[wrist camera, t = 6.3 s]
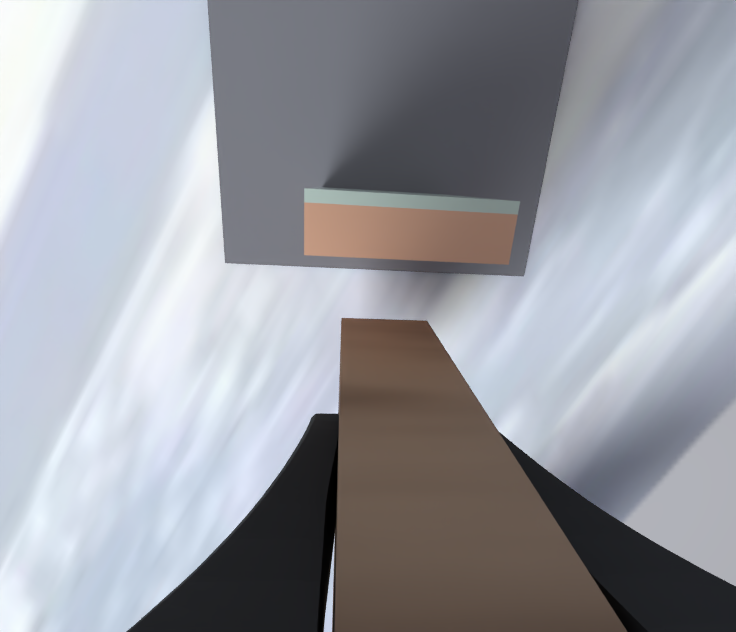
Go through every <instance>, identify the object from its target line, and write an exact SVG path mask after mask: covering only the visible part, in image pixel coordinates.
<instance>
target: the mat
mask: <svg viewBox="0 0 736 632" xmlns="http://www.w3.org/2000/svg"><path fill="white" fill-rule="evenodd" d="M577 4H578V0H208V15H209V30H210V45H211V60H212V74H213V89H214V104H215V119H216V134H217V149H218V163H219V178H220V193H221V208H222V223H223V238H224V252H225V263H236V264H258V265H281V266H303V267H326V268H348V269H371V270H393V271H416V272H438V273H461V274H483V275H506V276H524V273H525V268H526V263H527V258H528V253H529V248H530V243H531V238H532V233H533V227H534V222H535V217H536V212H537V207H538V202H539V197H540V192H541V187H542V182H543V177H544V172H545V167H546V161H547V156H548V151H549V146H550V141H551V136H552V131H553V126H554V121H555V116H556V111H557V106H558V101H559V96H560V90H561V85H562V80H563V75H564V70H565V65H566V60H567V55H568V50H569V45H570V40H571V35H572V30H573V24H574V19H575V14H576V9H577ZM317 187H328V188H344V189H361V190H378V191H394V192H411V193H427V194H444V195H456V196H467V197H478V198H489V199H500V200H512V201H520V205H519V211H518V216H517V222H516V227H515V233H514V238H513V244H512V249H511V255H510V260H509V265H504V264H482V263H461V262H439V261H418V260H397V259H375V258H354V257H332V256H311V255H304V188H317Z"/></svg>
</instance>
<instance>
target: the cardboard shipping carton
mask: <svg viewBox="0 0 736 632" xmlns="http://www.w3.org/2000/svg"><path fill="white" fill-rule="evenodd" d="M338 414H339V437H338V465H337V494H336V523H335V547H334V582H333V618H332V632H627V630H626V629H625V627H624V626H623V624H622V623H621V621H620V619H619V618H618V616H617V615H616V613H615V612H614V610H613V609H612V607H611V606H610V604H609V602H608V601H607V599H606V598H605V596H604V595H603V593H602V592H601V590H600V588H599V587H598V585H597V584H596V582H595V581H594V579H593V578H592V576H591V574H590V573H589V571H588V570H587V568H586V567H585V565H584V564H583V562H582V561H581V559H580V557H579V556H578V554H577V553H576V551H575V550H574V548H573V547H572V545H571V543H570V542H569V540H568V539H567V537H566V536H565V534H564V533H563V531H562V530H561V528H560V526H559V525H558V523H557V522H556V520H555V519H554V517H553V516H552V514H551V512H550V511H549V509H548V508H547V506H546V505H545V503H544V502H543V500H542V499H541V497H540V495H539V494H538V492H537V491H536V489H535V488H534V486H533V485H532V483H531V481H530V480H529V478H528V477H527V475H526V474H525V472H524V471H523V469H522V468H521V466H520V464H519V463H518V461H517V460H516V458H515V457H514V455H513V454H512V452H511V450H510V449H509V447H508V446H507V444H506V443H505V441H504V440H503V438H502V437H501V435H500V433H499V432H498V430H497V429H496V427H495V426H494V424H493V423H492V421H491V419H490V418H489V416H488V415H487V413H486V412H485V410H484V409H483V407H482V405H481V404H480V402H479V401H478V399H477V398H476V396H475V395H474V393H473V392H472V390H471V388H470V387H469V385H468V384H467V382H466V381H465V379H464V378H463V376H462V374H461V373H460V371H459V370H458V368H457V367H456V365H455V364H454V362H453V361H452V359H451V357H450V356H449V354H448V353H447V351H446V350H445V348H444V347H443V345H442V343H441V342H440V340H439V339H438V337H437V336H436V334H435V333H434V331H433V330H432V328H431V326H430V325H429V323H428V322H427V321H417V320H386V319H354V318H342V321H341V350H340V380H339V410H338Z"/></svg>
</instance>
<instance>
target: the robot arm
mask: <svg viewBox="0 0 736 632" xmlns="http://www.w3.org/2000/svg"><path fill="white" fill-rule="evenodd" d="M499 433H500V432H499ZM500 435H501V437H502V438H503V440H504V441H505V443H506V444H507V446H508V447H509V449H510V450H511V452H512V454H513V455H514V457H515V458H516V460H517V461H518V463H519V464H520V466H521V468H522V469H523V471H524V472H525V474H526V475H527V477H528V478H529V480H530V481H531V483H532V485H533V486H534V488H535V489H536V491H537V492H538V494H539V495H540V497H541V499H542V500H543V502H544V503H545V505H546V506H547V508H548V509H549V511H550V512H551V514H552V516H553V517H554V519H555V520H556V522H557V523H558V525H559V526H560V528H561V530H562V531H563V533H564V534H565V536H566V537H567V539H568V540H569V542H570V543H571V545H572V547H573V548H574V550H575V551H576V553H577V554H578V556H579V557H580V559H581V561H582V562H583V564H584V565H585V567H586V568H587V570H588V571H589V573H590V574H591V576H592V578H593V579H594V581H595V582H596V584H597V585H598V587H599V588H600V590H601V592H602V593H603V595H604V596H605V598H606V599H607V601H608V602H609V604H610V606H611V607H612V609H613V610H614V612H615V613H616V615H617V616H618V618H619V619H620V621H621V623H622V624H623V626H624V627H625V629H626V630H627V632H736V586H734V585H732V584H730V583H728V582H726V581H724V580H722V579H720V578H718V577H716V576H714V575H712V574H711V573H709V572H707V571H705V570H703V569H701V568H699V567H697V566H696V565H694V564H692V563H690V562H689V561H687V560H685V559H683V558H681V557H679V556H678V555H676V554H674V553H672V552H670V551H669V550H667V549H665V548H663V547H662V546H660V545H658V544H656V543H655V542H653V541H651V540H650V539H648V538H646V537H645V536H643V535H641V534H639V533H638V532H636V531H635V530H633V529H631V528H630V527H628V526H627V525H625V524H624V523H622V522H620V521H619V520H617V519H616V518H614V517H612V516H611V515H609V514H608V513H606V512H605V511H603V510H602V509H600V508H599V507H597V506H596V505H594V504H593V503H591V502H590V501H588V500H587V499H585V498H584V497H582V496H581V495H580V494H578V493H577V492H576V491H574V490H573V489H571V488H570V487H569V486H567V485H566V484H564V483H563V482H562V481H560V480H559V479H558V478H556V477H555V476H554V475H552V474H551V473H550V472H548V471H547V470H546V469H544V468H543V467H542V466H541V465H539V464H538V463H537V462H535V461H534V460H533V459H532V458H530V457H529V456H528V455H527V454H525V453H524V452H523V451H522V450H520V449H519V448H518V447H517V446H516V445H514V444H513V443H512V442H511V441H509V440H508V439H507V438H506V437H505V436H503V435H502V434H501V433H500ZM338 437H339V414H315V415H314V416H313V417H312V418H311V421H310V423H309V425H308V427H307V429H306V431H305V433H304V435H303V437H302V439H301V440H300V442H299V444H298V446H297V447H296V449H295V451H294V452H293V454H292V455H291V457H290V458H289V460H288V461H287V463H286V465H285V466H284V468H283V469H282V471H281V472H280V473H279V475H278V476H277V477H276V479H275V480H274V481H273V483H272V484H271V485H270V487H269V488H268V490H267V491H266V492H265V494H264V495H263V496H262V498H261V499H260V500H259V501H258V503H257V504H256V505H255V506H254V507H253V509H252V510H251V511H250V512H249V513H248V515H247V516H246V517H245V518H244V519H243V520H242V522H241V523H240V524H239V525H238V526H237V527H236V528H235V529H234V531H233V532H232V533H231V534H230V535H229V536H228V537H227V538H226V539H225V540H224V541H223V542H222V543H221V544H220V545H219V546H218V547H217V548H216V550H215V551H214V552H213V553H212V554H211V555H210V556H209V557H208V558H207V559H206V560H205V561H204V562H203V563H202V564H201V565H200V566H199V567H198V568H197V569H196V570H195V571H194V572H193V573H192V574H191V575H190V576H188V577H187V578H186V579H185V580H184V581H183V582H182V583H181V584H180V585H179V586H178V587H176V588H175V589H174V590H173V591H172V592H171V593H170V594H169V595H168V596H166V597H165V598H164V599H163V600H162V601H161V602H160V603H159V604H157V605H156V606H155V607H154V608H153V609H152V610H151V611H150V612H148V613H147V614H146V615H145V616H144V617H143V618H142V619H141V620H139V621H138V622H137V623H136V624H135V625H134V626H133V627H131V628H130V629H129V630H128V631H127V632H324V620H325V610H326V602H327V594H328V585H329V577H330V569H331V560H332V552H333V543H334V535H335V523H336V494H337V465H338Z"/></svg>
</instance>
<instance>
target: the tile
mask: <svg viewBox="0 0 736 632" xmlns="http://www.w3.org/2000/svg"><path fill="white" fill-rule="evenodd" d="M519 205H520V201H512V200H500V199H489V198H478V197H467V196H456V195H444V194H427V193H411V192H394V191H378V190H361V189H344V188H328V187H317V188H304V255H311V256H332V257H354V258H375V259H397V260H418V261H439V262H461V263H482V264H504V265H509V260H510V255H511V249H512V244H513V238H514V233H515V227H516V222H517V216H518V211H519Z"/></svg>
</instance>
